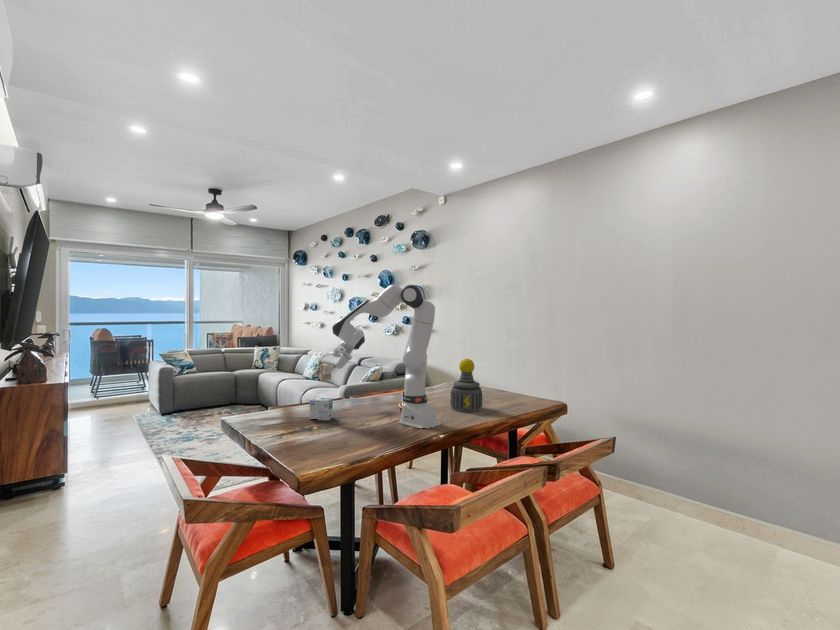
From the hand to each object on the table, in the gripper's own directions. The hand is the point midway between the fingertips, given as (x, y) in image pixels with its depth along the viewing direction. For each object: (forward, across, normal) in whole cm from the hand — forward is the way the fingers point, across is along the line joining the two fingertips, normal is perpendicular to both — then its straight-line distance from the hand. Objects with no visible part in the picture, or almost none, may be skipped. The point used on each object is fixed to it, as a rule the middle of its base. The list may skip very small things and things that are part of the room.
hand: (324, 371), depth 225 cm
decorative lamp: (-38, +28, +73) cm, 87 cm away
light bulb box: (+19, 0, +17) cm, 25 cm away
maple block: (+3, 0, +4) cm, 5 cm away
